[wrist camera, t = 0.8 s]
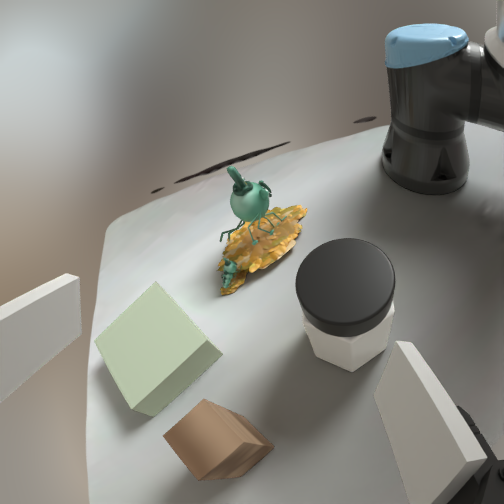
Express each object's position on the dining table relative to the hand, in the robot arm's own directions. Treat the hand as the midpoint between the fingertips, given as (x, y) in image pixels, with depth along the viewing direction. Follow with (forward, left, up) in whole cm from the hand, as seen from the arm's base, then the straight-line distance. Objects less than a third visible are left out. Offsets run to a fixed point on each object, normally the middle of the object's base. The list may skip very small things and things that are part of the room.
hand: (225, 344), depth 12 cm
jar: (-10, -3, -23) cm, 25 cm away
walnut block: (+7, -3, -23) cm, 24 cm away
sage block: (+7, -19, -23) cm, 31 cm away
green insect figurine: (-13, -21, -23) cm, 34 cm away
